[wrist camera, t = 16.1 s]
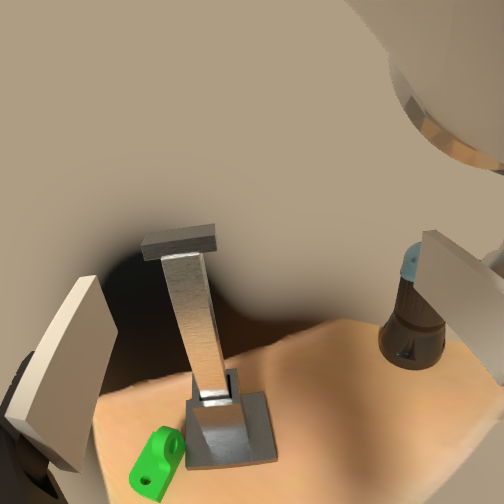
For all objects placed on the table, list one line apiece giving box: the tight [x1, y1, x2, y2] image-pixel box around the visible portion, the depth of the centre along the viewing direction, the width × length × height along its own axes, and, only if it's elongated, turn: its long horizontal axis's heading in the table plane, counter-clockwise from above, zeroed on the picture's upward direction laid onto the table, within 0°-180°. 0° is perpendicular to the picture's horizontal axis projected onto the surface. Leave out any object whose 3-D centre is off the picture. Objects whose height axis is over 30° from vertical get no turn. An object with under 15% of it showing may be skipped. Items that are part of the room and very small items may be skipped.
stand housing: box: [185, 368, 277, 470], centre depth 41 cm, size 14×14×14 cm
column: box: [141, 224, 232, 401], centre depth 35 cm, size 7×4×28 cm, turn 97°
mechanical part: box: [129, 426, 185, 503], centre depth 36 cm, size 12×6×8 cm, turn 165°
